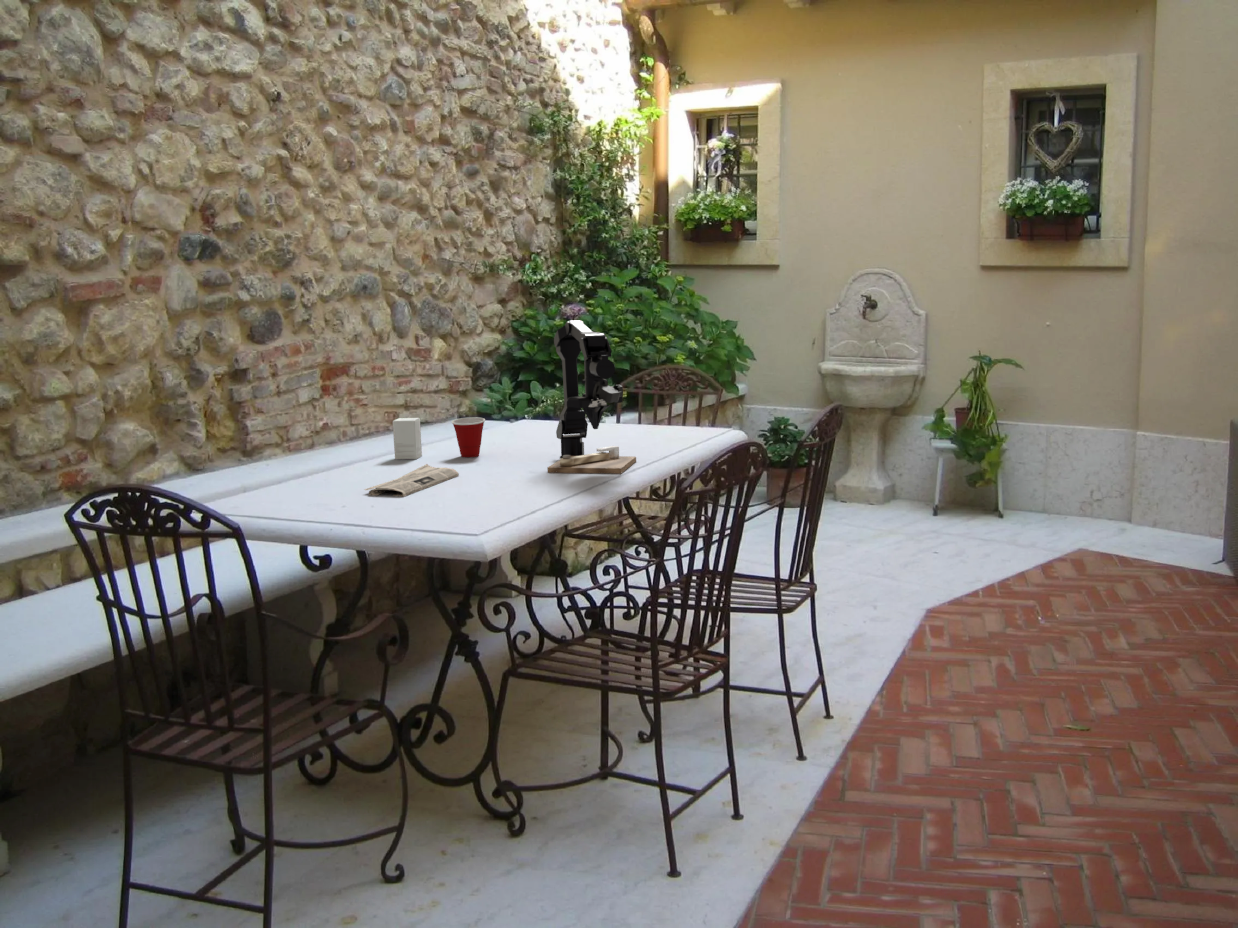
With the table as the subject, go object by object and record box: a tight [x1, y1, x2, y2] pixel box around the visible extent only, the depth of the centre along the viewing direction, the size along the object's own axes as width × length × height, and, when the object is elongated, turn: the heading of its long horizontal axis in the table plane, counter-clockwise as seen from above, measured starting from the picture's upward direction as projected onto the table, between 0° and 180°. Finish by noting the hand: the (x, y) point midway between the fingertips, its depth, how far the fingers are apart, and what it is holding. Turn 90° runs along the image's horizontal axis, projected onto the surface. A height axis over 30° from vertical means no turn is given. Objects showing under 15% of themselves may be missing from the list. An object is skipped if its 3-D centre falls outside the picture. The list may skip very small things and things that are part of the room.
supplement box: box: [392, 417, 423, 460], centre depth 378 cm, size 7×7×13 cm
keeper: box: [596, 445, 620, 458], centre depth 359 cm, size 8×2×3 cm, turn 136°
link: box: [559, 451, 609, 466], centre depth 352 cm, size 18×4×3 cm, turn 135°
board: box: [547, 455, 637, 474], centre depth 354 cm, size 22×23×2 cm
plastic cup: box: [451, 416, 486, 458], centre depth 379 cm, size 11×11×12 cm
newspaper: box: [363, 463, 460, 498], centre depth 328 cm, size 35×12×4 cm, turn 162°
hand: (595, 429), depth 349 cm, fingers closed
